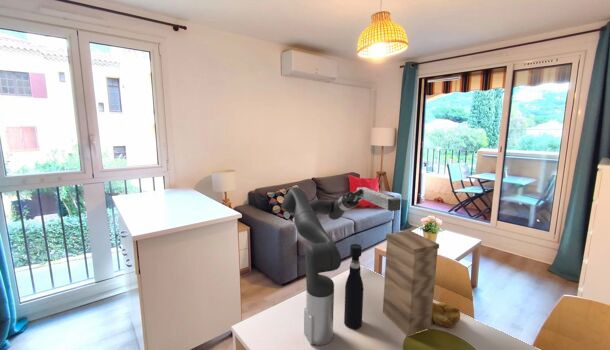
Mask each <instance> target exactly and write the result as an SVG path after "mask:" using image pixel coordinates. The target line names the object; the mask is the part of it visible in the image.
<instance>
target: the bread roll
mask: <svg viewBox="0 0 610 350" xmlns="http://www.w3.org/2000/svg"><path fill="white" fill-rule="evenodd" d="M460 320H461V312H460V309H459V308H457V307H456V306H451V305H450V304H448V303H446V302H443V301H440V302H437V303H436V302H434V301H433V307H432V318H431V325H436V326H437V327H441V328H443V329H446V328H447V329H450V328H451V329H452V328H454V327H455V326H456V324H457V323H458V322H459V321H460Z"/></svg>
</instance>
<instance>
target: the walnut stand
mask: <svg viewBox="0 0 610 350" xmlns="http://www.w3.org/2000/svg"><path fill="white" fill-rule="evenodd" d="M385 239H386V247H385V249H386V251H385V252H386V253H385V266H384V281H383V282H384V284H383V301H382V302H383V303H382V313H383V314H384V315H385V316H386V317H387V318H388V319H389V320H390V322H392V323H393V324H394V325H395V326H396V327H397V328H398V329H399V330H400V331H401V332H403V333H404V334H405V335H406V336H407V335H408V336H409V335H411V334H414V333H416V332H419V331H422V330H425V329H430V330H431V328H432V327H431V326H432V324H431V318H432V307H433V302H434V295H435V294H434V293H435V284H436V273H437V262H438V261H437V260H438V251H439V250H438V249H440V244H439V243H437V242H435V241H433V240H430V239H429V238H427V237H424V236H422V235H420V234H418V233H416V232H414V231H412V230H410V229H409V230H404V231H399V232H393V233H386V234H385ZM408 336H407V337H408Z"/></svg>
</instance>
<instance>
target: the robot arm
mask: <svg viewBox="0 0 610 350" xmlns="http://www.w3.org/2000/svg"><path fill="white" fill-rule="evenodd" d="M368 189H371V190H372V188H368ZM362 194H363V191H362V189H360V190H358V191H357V190H356V191H348V192H346V193H345V194H343V195H341V196H340V197H339V198H337V199H332V200H331V199H330V200H323V199H314V200H311V201H310V200H309V197H308V195H307V194H306V193H305V191H303V190H302V188H300V187H297V186H295V187H294V186H292V187H291V188H290V189H288V192H287V193H286V195H284V196H285V197H284V199H283V200H282V203H281V207H282V208H283V209H284V210H285V211H286V212H288V213H289V214H294V217H293V218H294V219H293V221H294V225H295V228H296V230H297V232H298V234H299V235H300V236H301V237H302V238H303V239H305V240H306V241H308V242H310V243H311V244H310V243H309V244H308V245H307V246H306V248H305V254H304V256H305V258H304V259H305V281H306V282H305V283H306V284H305V285H306V306H305V308H303V310H304V312H303V334H304V336H305V337H306V339H307V341H308V342H309V345H317V346H324V345H327V344H329V343H330V342H332V340H333V338H334V337H333V336H334V309H335V308H334V305H335V303H334V302H335V301H334V300H335V282H334V280H332V279H331V277H329V276H327V275H324V274H320V273H326V272H334V271H336V270H338V269H339V268H340V267H341V264H342V259H341V254H340V250H339V249H338V247H337V244H336V243H335V242H334V240H333V239H332V238H331V236H329V234H328V233H327V232H326V230H325V229H324V227H323V225H322V224H321V222H320V220H319V218H318V216H317V214H318V215H320V214H321V215H327V216H328V218H329V219H330V220H333V221H334V220H339V219H340V218H341V217H342V216H343V215H344V213H345V212H346V211H349V210H351V209H354V208H355V207H357V206H358V205H359V203H360V201H362V200H363V199H361V198H359V197H358V196H360V195H362Z"/></svg>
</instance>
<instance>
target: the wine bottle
mask: <svg viewBox="0 0 610 350" xmlns="http://www.w3.org/2000/svg"><path fill="white" fill-rule="evenodd" d="M362 249H363V248H362V246H361V244H357V243H352V244H350V246H349V256H351V260H350V265H349V274H348V276H347V278H346V280H345V281H346V282H345V286H344V287H345V288H344V289H345V290H344V314H343V316H344V318H343V323H344V325H345V327H346V328H348V329H350V330H358V329H360V328H361V327H362V324H363V310H364V309H363V308H364V307H363V305H364V282H363V279H362V276H361V262H360V257H361V256H362Z"/></svg>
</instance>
